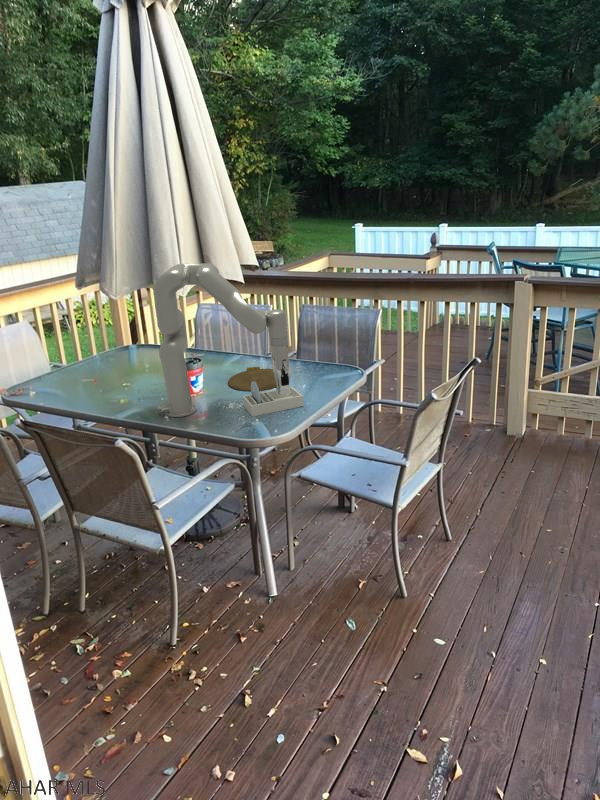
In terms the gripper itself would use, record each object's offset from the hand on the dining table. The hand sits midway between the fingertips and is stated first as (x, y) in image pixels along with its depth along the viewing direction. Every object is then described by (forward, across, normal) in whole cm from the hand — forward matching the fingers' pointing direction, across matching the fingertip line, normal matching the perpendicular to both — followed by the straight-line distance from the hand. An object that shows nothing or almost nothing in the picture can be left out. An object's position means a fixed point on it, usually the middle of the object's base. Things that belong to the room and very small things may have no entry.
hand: (282, 382), depth 256 cm
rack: (+10, 0, -5) cm, 11 cm away
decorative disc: (+10, -36, -1) cm, 37 cm away
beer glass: (+5, 0, 0) cm, 5 cm away
